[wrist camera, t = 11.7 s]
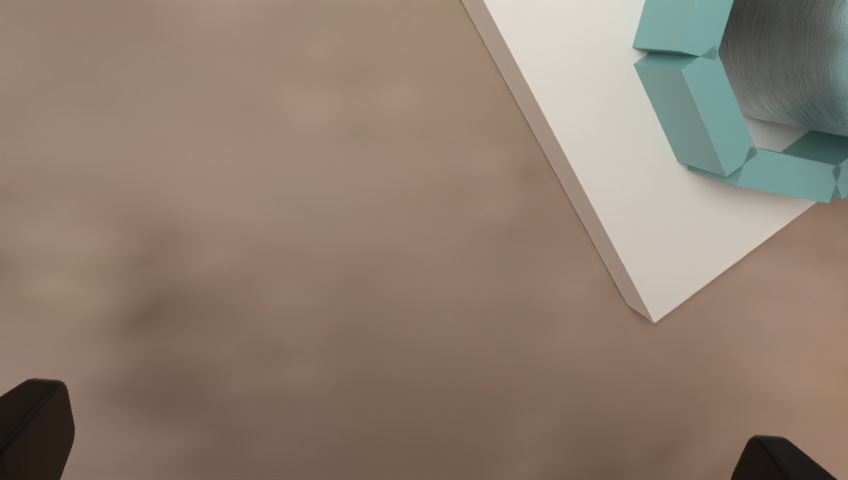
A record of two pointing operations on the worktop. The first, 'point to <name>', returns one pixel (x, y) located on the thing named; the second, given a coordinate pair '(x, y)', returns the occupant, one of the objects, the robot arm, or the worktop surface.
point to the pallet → (655, 137)
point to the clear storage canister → (789, 61)
